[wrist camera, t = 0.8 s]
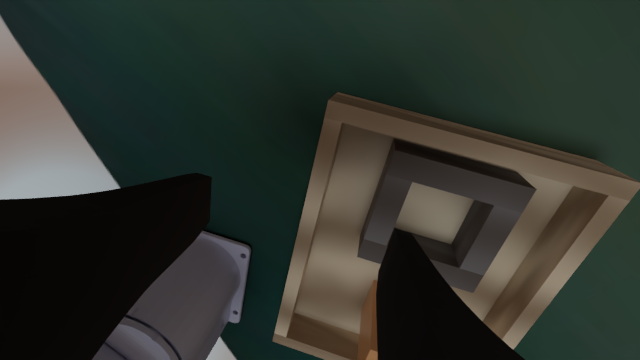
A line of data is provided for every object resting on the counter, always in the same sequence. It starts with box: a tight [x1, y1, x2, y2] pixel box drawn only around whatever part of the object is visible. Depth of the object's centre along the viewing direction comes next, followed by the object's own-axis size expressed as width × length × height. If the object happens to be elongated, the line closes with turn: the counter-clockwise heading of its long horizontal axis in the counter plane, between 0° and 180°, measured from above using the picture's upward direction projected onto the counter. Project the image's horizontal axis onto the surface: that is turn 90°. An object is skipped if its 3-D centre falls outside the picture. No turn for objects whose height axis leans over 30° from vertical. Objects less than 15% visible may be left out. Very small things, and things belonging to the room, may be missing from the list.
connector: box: [357, 280, 378, 360], centre depth 20 cm, size 3×3×7 cm
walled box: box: [273, 92, 640, 360], centre depth 21 cm, size 20×16×4 cm
